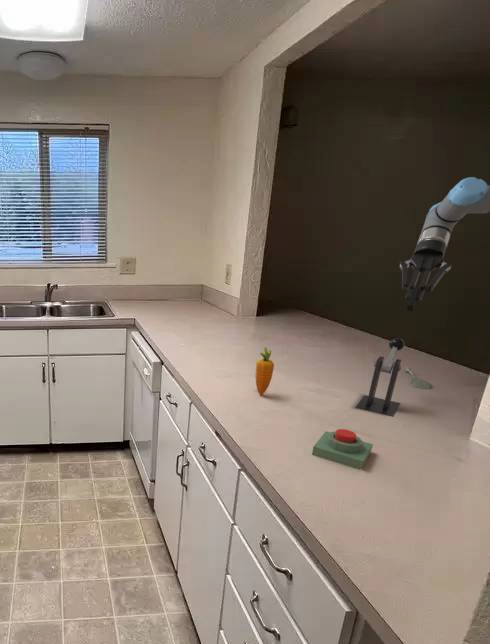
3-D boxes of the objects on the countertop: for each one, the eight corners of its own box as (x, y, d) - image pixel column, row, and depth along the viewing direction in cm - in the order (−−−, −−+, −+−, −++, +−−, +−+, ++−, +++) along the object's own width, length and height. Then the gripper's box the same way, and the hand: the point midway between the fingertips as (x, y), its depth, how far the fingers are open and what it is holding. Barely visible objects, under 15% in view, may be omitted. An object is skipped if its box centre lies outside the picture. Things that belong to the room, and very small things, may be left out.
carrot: (268, 399, 131) (275, 351, 125) (250, 396, 133) (257, 349, 128) (270, 393, 135) (277, 347, 129) (253, 391, 137) (260, 345, 132)
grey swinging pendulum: (389, 344, 126) (391, 334, 124) (404, 346, 124) (406, 336, 122) (377, 372, 120) (379, 362, 118) (393, 375, 118) (395, 365, 116)
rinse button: (337, 434, 102) (338, 427, 101) (356, 439, 99) (358, 432, 99) (332, 440, 99) (333, 433, 98) (352, 445, 96) (353, 438, 96)
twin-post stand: (363, 399, 130) (374, 351, 125) (399, 407, 124) (412, 357, 119) (354, 411, 122) (365, 361, 117) (392, 420, 116) (405, 368, 111)
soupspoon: (407, 393, 136) (432, 397, 133) (410, 383, 134) (436, 387, 132) (396, 370, 154) (418, 373, 151) (399, 361, 152) (421, 364, 150)
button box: (323, 439, 107) (326, 424, 106) (370, 452, 101) (374, 437, 99) (311, 454, 100) (314, 439, 99) (361, 470, 94) (365, 453, 92)
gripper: (456, 255, 133) (435, 318, 127) (405, 254, 141) (383, 312, 136) (460, 238, 128) (439, 302, 122) (406, 237, 136) (384, 298, 130)
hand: (410, 308), depth 129 cm, fingers closed
